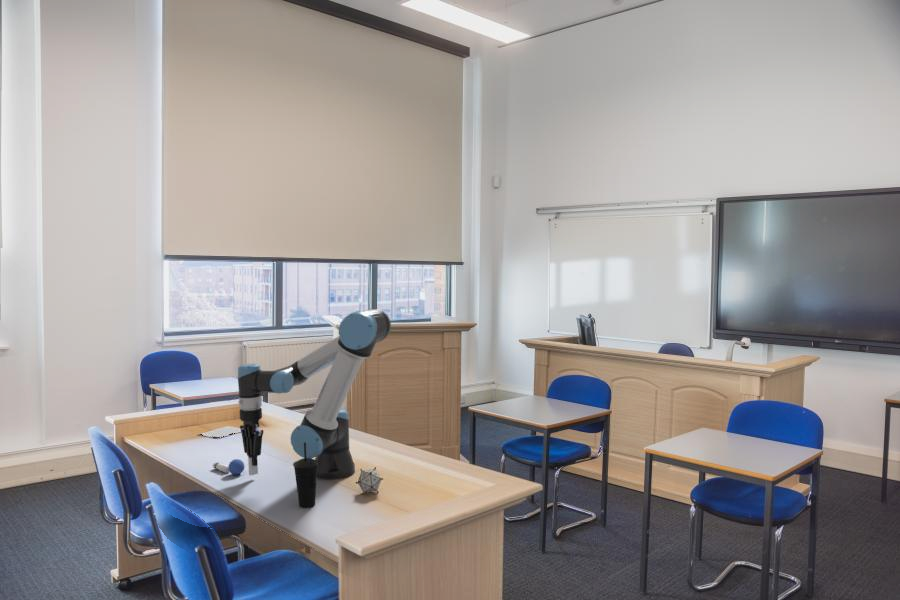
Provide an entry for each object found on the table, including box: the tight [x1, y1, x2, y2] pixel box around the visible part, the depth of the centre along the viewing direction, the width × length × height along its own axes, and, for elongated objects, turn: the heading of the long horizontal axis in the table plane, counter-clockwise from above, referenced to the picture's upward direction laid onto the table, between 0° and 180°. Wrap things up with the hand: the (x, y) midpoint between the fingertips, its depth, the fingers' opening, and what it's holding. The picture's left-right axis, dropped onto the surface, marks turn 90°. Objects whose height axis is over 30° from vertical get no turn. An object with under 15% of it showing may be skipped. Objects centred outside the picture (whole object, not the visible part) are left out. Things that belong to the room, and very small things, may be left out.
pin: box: [212, 461, 230, 474], centre depth 246 cm, size 2×2×8 cm
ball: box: [228, 458, 245, 476], centre depth 241 cm, size 6×6×6 cm
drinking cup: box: [292, 442, 318, 509], centre depth 209 cm, size 8×8×20 cm
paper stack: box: [200, 425, 241, 439], centre depth 295 cm, size 23×25×1 cm
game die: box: [355, 466, 384, 496], centre depth 220 cm, size 9×8×10 cm
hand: (253, 474), depth 236 cm, fingers closed
